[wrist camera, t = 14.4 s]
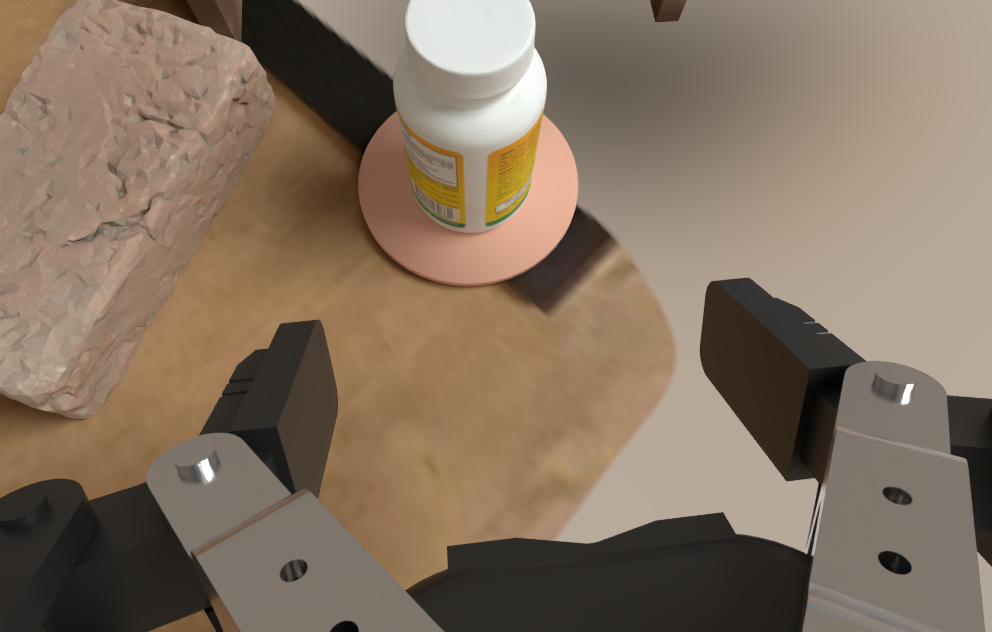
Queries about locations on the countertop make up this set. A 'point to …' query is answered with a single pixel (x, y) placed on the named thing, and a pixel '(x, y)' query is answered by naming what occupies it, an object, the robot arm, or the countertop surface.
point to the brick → (112, 188)
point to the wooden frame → (222, 12)
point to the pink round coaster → (462, 253)
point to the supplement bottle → (470, 108)
